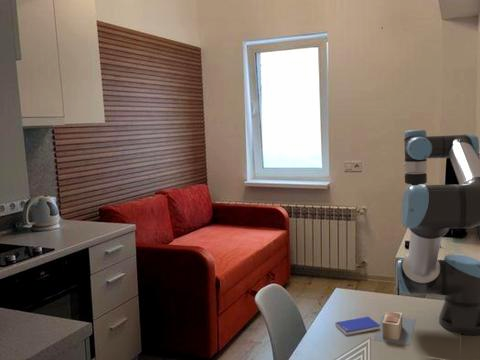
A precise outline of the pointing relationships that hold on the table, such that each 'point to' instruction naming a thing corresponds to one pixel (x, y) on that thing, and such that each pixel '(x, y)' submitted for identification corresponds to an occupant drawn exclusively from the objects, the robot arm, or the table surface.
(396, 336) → the birch block
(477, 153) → the robot arm
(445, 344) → the table surface
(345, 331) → the hard drive
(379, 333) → the slate mat
